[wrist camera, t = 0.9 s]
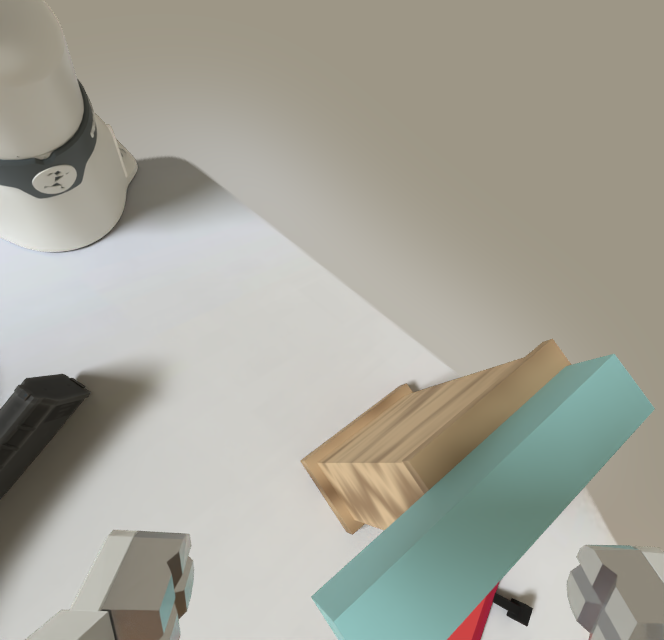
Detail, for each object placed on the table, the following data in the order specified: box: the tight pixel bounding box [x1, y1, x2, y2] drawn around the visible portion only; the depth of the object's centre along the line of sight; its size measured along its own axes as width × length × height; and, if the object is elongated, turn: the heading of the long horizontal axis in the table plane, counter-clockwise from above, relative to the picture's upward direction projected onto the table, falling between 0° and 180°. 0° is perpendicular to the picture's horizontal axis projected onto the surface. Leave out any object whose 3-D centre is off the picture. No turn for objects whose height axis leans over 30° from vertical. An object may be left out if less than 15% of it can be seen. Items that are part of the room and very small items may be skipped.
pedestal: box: [301, 339, 571, 535], centre depth 41 cm, size 9×15×26 cm, turn 126°
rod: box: [312, 354, 655, 640], centre depth 26 cm, size 4×22×4 cm, turn 126°
